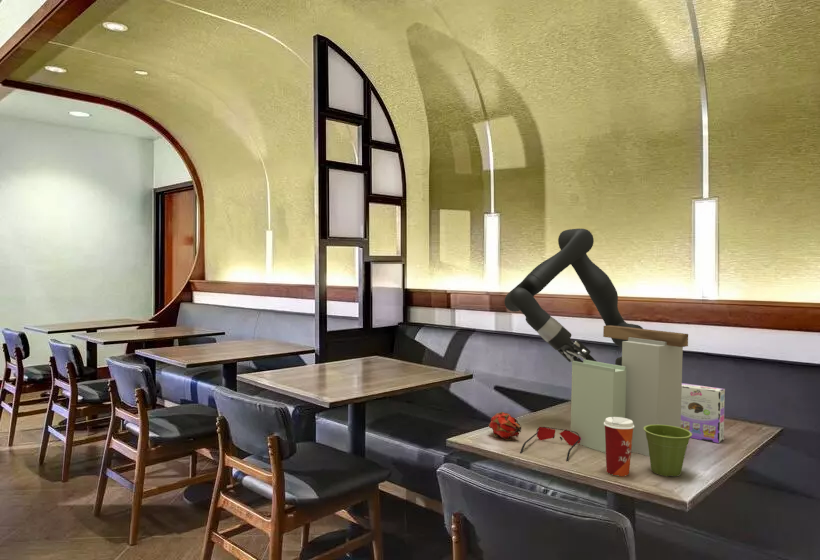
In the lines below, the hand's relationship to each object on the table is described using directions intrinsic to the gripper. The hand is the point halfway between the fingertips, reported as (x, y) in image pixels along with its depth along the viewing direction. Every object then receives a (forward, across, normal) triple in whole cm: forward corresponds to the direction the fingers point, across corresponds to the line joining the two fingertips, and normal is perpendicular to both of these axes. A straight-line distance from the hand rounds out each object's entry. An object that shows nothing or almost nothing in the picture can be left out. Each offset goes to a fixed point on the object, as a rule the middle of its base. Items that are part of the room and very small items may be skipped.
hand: (590, 366), depth 196 cm
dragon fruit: (-7, -1, +37) cm, 38 cm away
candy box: (+39, -6, -5) cm, 40 cm away
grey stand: (+25, -16, +13) cm, 32 cm away
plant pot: (+24, -34, +21) cm, 47 cm away
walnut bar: (+2, -22, -9) cm, 24 cm away
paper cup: (+14, -33, +30) cm, 47 cm away
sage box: (+13, -12, +22) cm, 28 cm away
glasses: (+3, -13, +33) cm, 36 cm away
